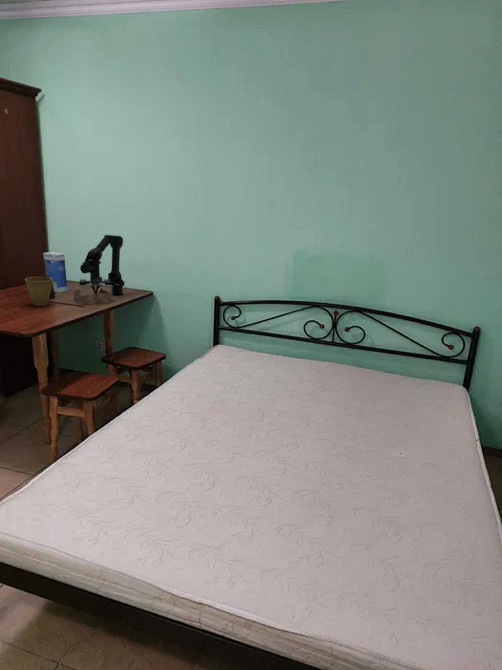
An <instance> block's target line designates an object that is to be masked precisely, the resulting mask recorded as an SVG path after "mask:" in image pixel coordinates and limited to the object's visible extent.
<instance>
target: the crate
mask: <svg viewBox="0 0 502 670" xmlns="http://www.w3.org/2000/svg"><path fill="white" fill-rule="evenodd" d="M99 288H100V294H98V293H97V294H93V293H92V294H83V295H82V294H81V290H80V289H78V290H77V289H76V290H73V300H74V301H75V302H77V303H78V304H80V305H81V306H87V305H96V304H106V303H111V292H109V291H107V290H105V289H103V288H101V287H99Z"/></svg>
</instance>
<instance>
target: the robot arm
mask: <svg viewBox="0 0 502 670" xmlns="http://www.w3.org/2000/svg"><path fill="white" fill-rule="evenodd" d="M123 245H124V238H123V237H122V236H121V235H113V234H104V236H103V237H102V239H101V240H100V241H99V243H98V244H97V245H96V246H95V247H94V248H92V249H90V250H88V252H87V254H86V256H85V260H84V261H83V262H82V264H81V265H80V268H79V269H80V271H81V272H80V273H82V274H85V275H86V274H88V273H89V276H90V277H89V280H87V279H85V278H84V279H83V278H82V279H81V278H80V279H79V286H86V285H89V287H90V288H91V289H92V291H93V293H94V294H98V289H99V288H101V287H102V285H105V286H111V289H110V290H111V291H110V295H113V296H123V295H124V292H123V287H124V286H125V281H124V280H123V278H122V274H121V272H120V260H121V259H120V256H121V254H120V253H121V249H122V247H123ZM108 246H110V248H111V271H110V272H108V274H107V275H108V276H107V277H108V278H107V279H103V277H102V276H101V273H100V271H101V270H100V264H102V262H101V261H100V260H101V259H102V256H103V252H104V251H105V250H106V249H107V247H108Z"/></svg>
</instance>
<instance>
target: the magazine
mask: <svg viewBox="0 0 502 670" xmlns="http://www.w3.org/2000/svg"><path fill="white" fill-rule="evenodd" d="M43 277H50V276H48V275H46V274H45V275H44V276H43ZM56 293H57V292H54V288H53V283H52V286H51V292H50V297H49V300H50V299H51V300H53V299H55V298H56Z"/></svg>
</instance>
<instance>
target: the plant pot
mask: <svg viewBox="0 0 502 670" xmlns="http://www.w3.org/2000/svg"><path fill="white" fill-rule="evenodd" d="M24 280H25V281H24V282H25V285H26V288H27V292H28V294H29V297H30V301H32V303H33V305H34V306H36V307H45V306H47V305H48V304H49V300H50V299H49V297H50V292H51V286H52V278H49V277H44V276H31V277H26V278H24Z"/></svg>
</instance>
